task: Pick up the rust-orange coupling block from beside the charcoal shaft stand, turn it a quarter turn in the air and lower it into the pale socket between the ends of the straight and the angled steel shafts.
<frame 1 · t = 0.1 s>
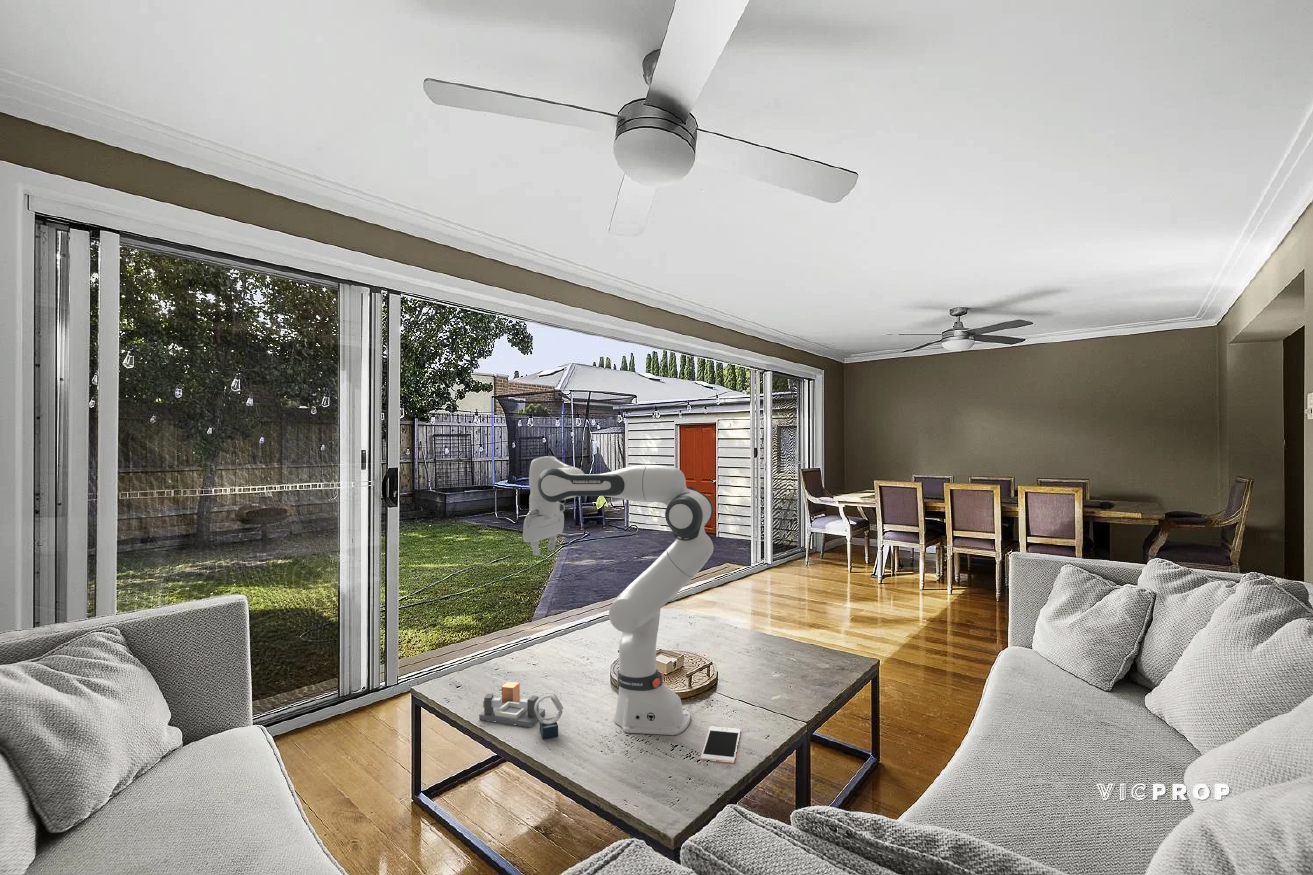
hand: (544, 552, 191), 48 cm above the table, tool pointing down, fingers open, 8 cm apart
watch: (549, 734, 173), on the table
cell phone: (721, 746, 166), on the table
coupling block: (510, 703, 193), on the table
shaft stand: (512, 716, 184), on the table
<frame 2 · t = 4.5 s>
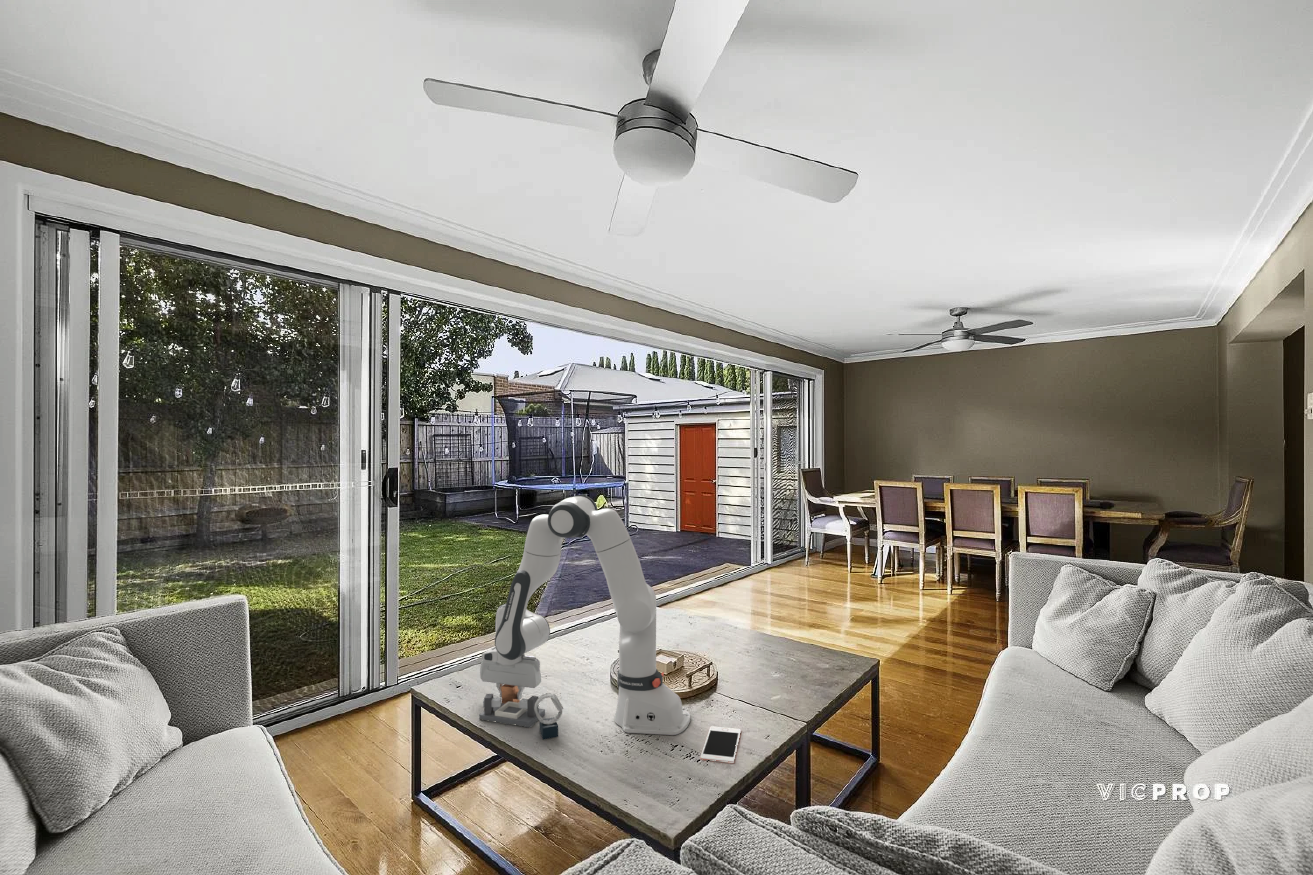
hand: (510, 697, 193), 2 cm above the table, tool pointing down, fingers closed on coupling block, 4 cm apart
coupling block: (510, 703, 193), on the table, touching gripper
everything else where it was.
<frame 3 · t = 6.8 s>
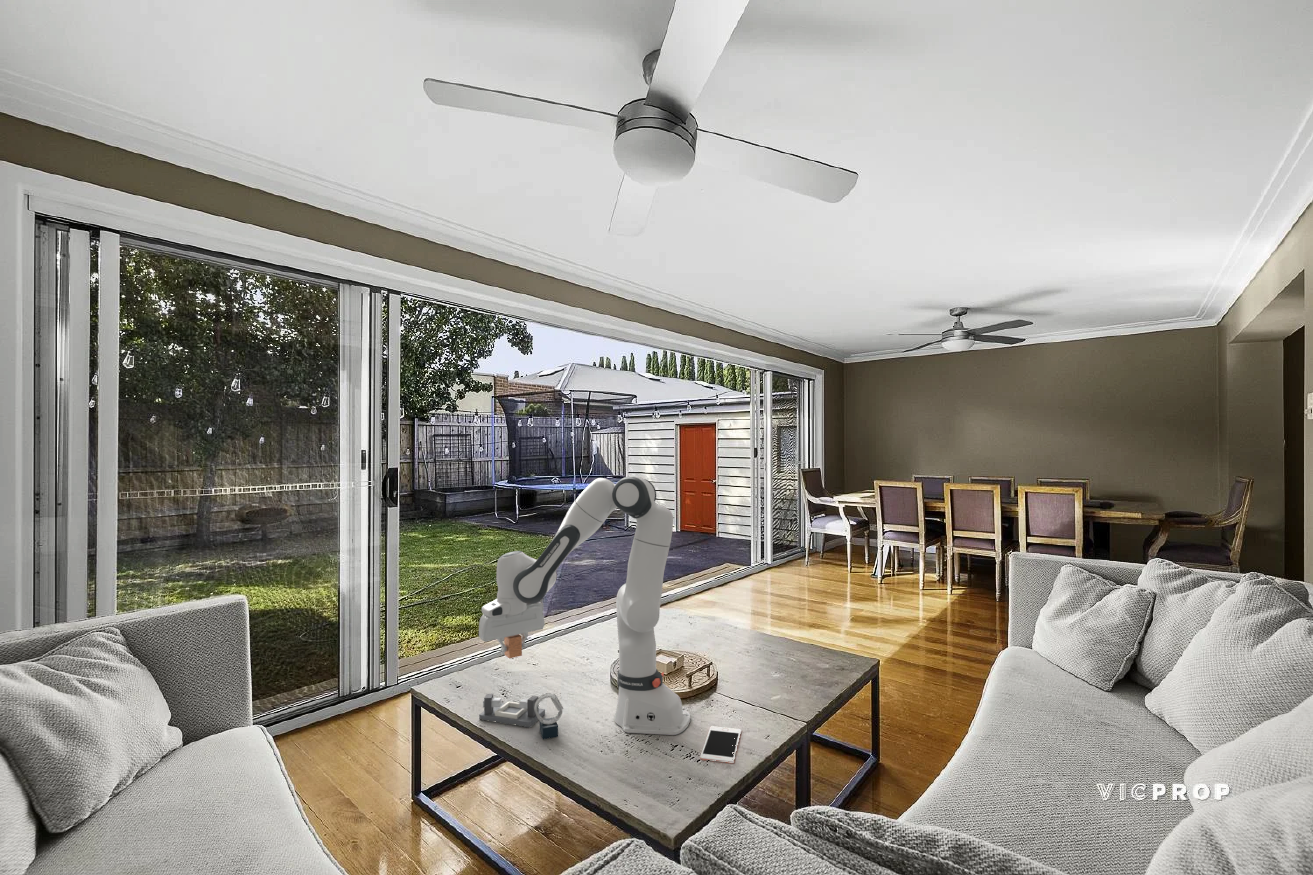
hand: (513, 649, 189), 19 cm above the table, tool pointing down, fingers closed on coupling block, 4 cm apart
coupling block: (513, 655, 189), point 17 cm above the table, touching gripper
everything else where it was.
when the fingers open (5 cm above the table, at t = 9.5 s): coupling block drops 1 cm, resting on shaft stand.
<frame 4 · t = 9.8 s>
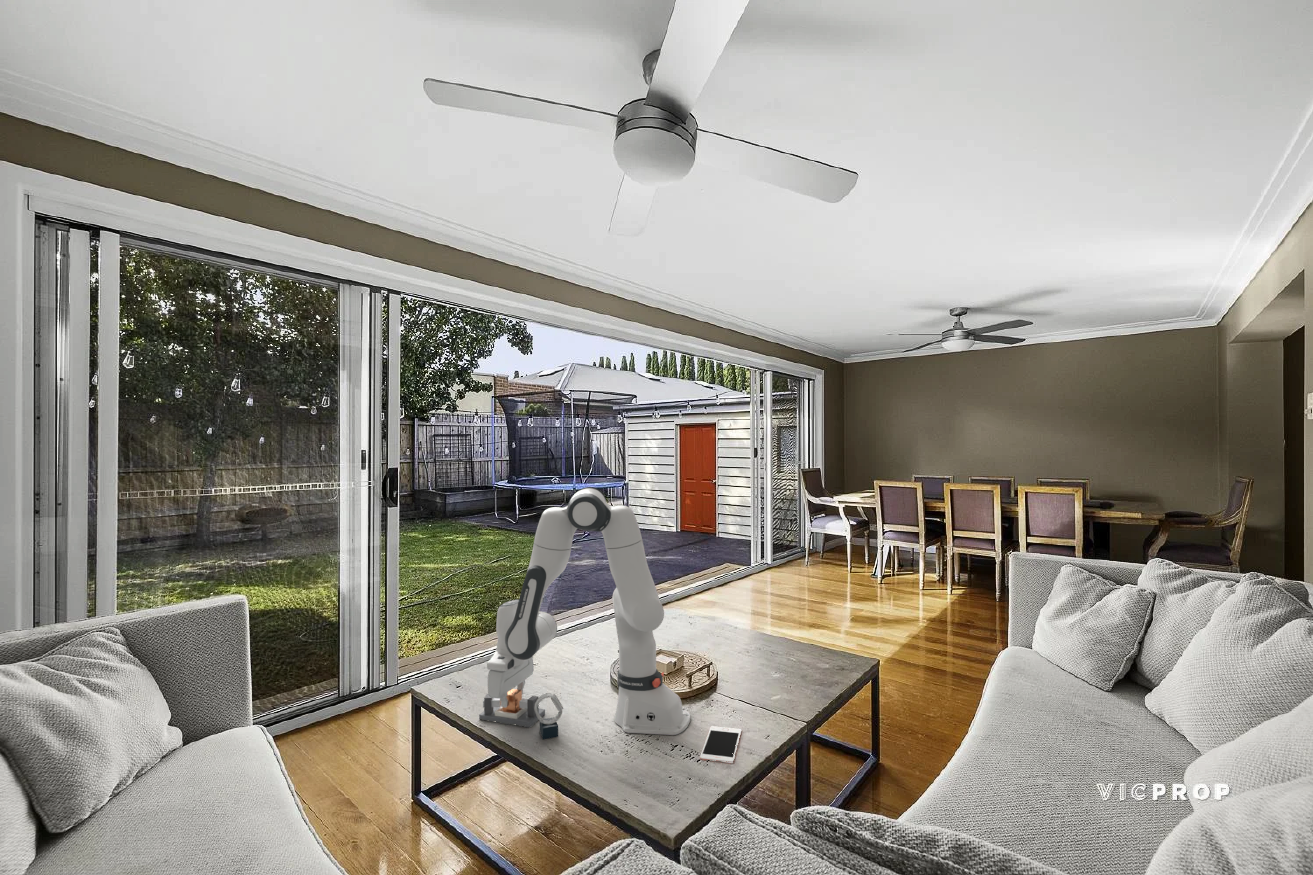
hand: (512, 700, 184), 5 cm above the table, tool pointing down, fingers open, 6 cm apart
coupling block: (512, 711, 183), point 1 cm above the table, touching shaft stand
everything else where it was.
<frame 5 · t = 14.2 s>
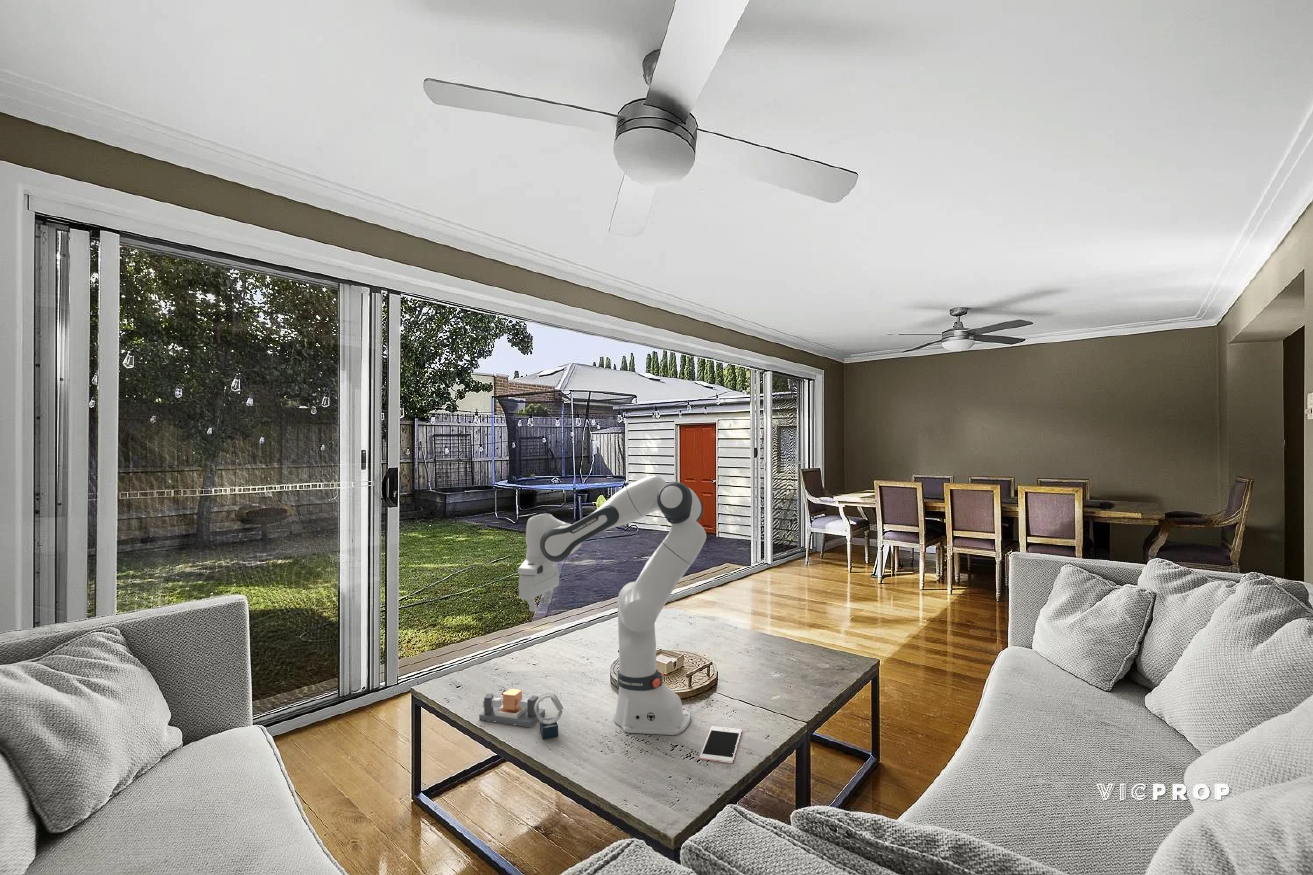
hand: (540, 606, 197), 29 cm above the table, tool pointing down, fingers open, 8 cm apart
nothing on the table moved.
at the end: coupling block 0.1 cm off-centre on the shaft stand, point 1.5 cm above the shaft stand's base; coupling block tilted 0°; the gripper is holding nothing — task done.
